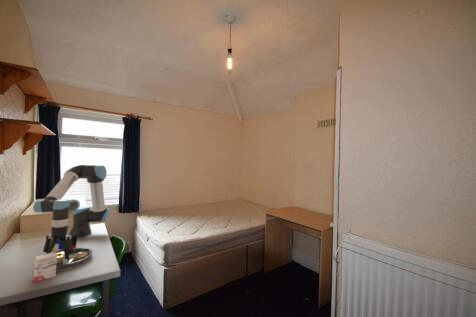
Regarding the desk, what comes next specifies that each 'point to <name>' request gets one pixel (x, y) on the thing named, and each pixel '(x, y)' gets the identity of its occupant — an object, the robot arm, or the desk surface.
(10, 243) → the desk surface
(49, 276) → the ink box
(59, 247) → the puzzle toy
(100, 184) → the robot arm
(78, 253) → the carrier
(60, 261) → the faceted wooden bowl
